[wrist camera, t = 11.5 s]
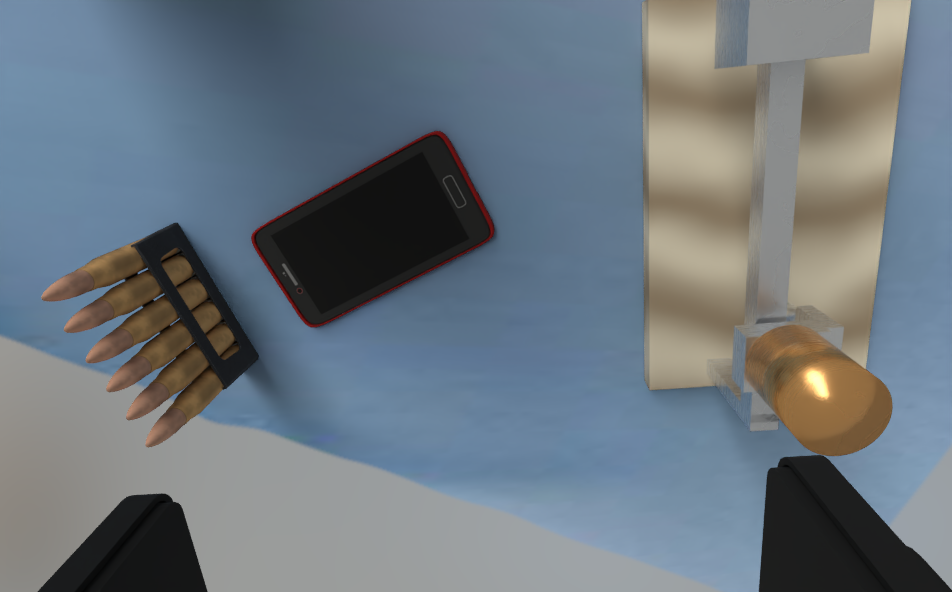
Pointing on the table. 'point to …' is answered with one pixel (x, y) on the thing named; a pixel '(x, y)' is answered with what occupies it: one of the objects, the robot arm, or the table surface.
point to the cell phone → (375, 230)
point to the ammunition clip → (161, 326)
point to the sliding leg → (811, 381)
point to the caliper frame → (777, 144)
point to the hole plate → (730, 177)
